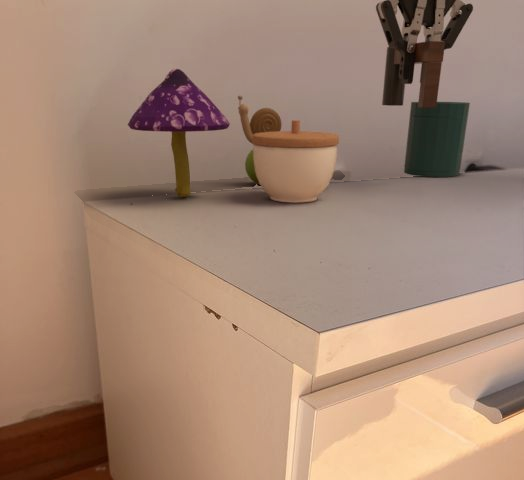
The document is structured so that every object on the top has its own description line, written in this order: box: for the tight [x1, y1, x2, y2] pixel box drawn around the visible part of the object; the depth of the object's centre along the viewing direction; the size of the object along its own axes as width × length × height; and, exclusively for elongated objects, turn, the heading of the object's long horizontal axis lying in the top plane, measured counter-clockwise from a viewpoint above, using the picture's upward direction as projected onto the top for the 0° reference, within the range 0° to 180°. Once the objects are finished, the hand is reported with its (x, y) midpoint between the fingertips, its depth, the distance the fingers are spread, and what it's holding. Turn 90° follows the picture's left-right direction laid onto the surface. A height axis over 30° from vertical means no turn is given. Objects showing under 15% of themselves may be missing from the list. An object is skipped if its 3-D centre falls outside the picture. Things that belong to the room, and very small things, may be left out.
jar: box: [403, 101, 471, 178], centre depth 94 cm, size 9×9×11 cm
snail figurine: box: [237, 94, 283, 185], centre depth 81 cm, size 5×6×12 cm
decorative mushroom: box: [127, 68, 231, 199], centre depth 70 cm, size 12×12×15 cm
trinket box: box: [251, 119, 340, 204], centre depth 72 cm, size 11×11×9 cm
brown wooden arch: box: [381, 41, 445, 108], centre depth 82 cm, size 14×3×8 cm, turn 12°
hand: (416, 83), depth 80 cm, fingers closed on brown wooden arch, 2 cm apart
